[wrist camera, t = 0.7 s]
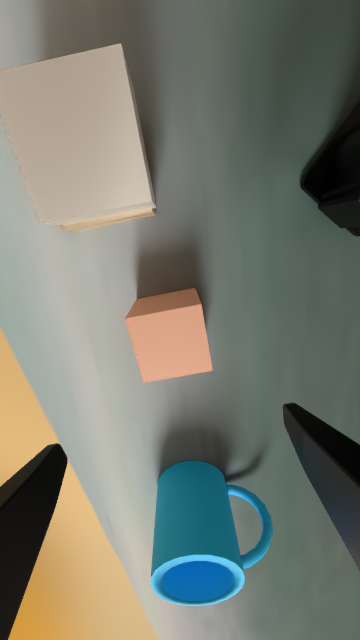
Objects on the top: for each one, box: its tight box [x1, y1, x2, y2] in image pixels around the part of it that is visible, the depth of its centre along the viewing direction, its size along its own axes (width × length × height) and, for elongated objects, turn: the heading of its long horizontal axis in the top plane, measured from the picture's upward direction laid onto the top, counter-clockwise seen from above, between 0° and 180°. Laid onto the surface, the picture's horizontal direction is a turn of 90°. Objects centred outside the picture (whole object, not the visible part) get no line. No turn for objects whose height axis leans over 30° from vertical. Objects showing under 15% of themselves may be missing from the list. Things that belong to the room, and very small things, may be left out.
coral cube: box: [125, 288, 213, 383], centre depth 18 cm, size 5×5×5 cm
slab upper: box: [0, 43, 156, 225], centre depth 12 cm, size 6×6×3 cm
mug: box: [151, 461, 273, 606], centre depth 23 cm, size 12×8×8 cm
